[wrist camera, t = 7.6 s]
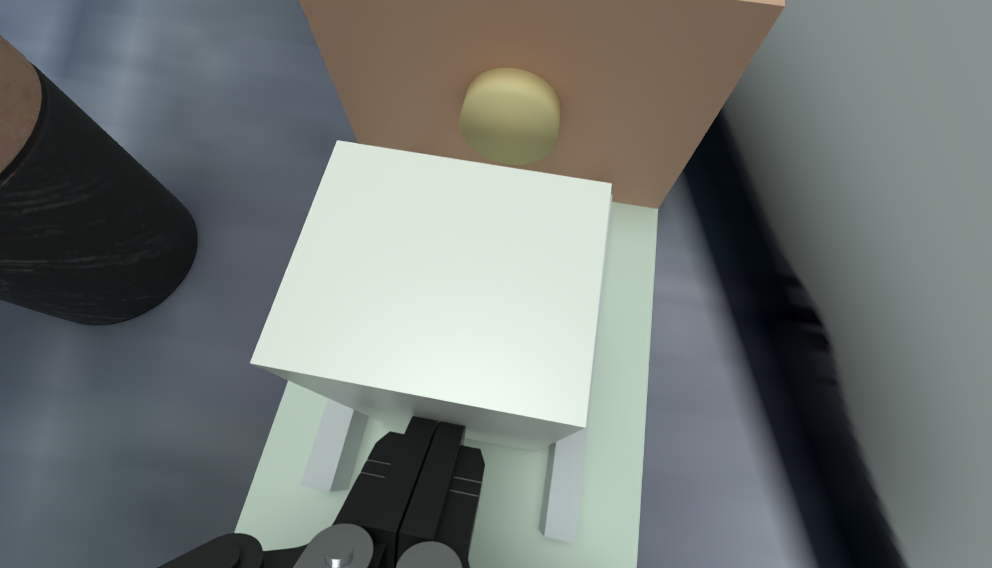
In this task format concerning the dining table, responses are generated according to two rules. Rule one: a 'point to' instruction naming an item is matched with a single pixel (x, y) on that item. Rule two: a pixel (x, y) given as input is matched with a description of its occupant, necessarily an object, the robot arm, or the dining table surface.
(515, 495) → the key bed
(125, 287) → the travel mug
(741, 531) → the dining table surface
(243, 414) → the dining table surface
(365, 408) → the white rectangular block
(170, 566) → the robot arm
